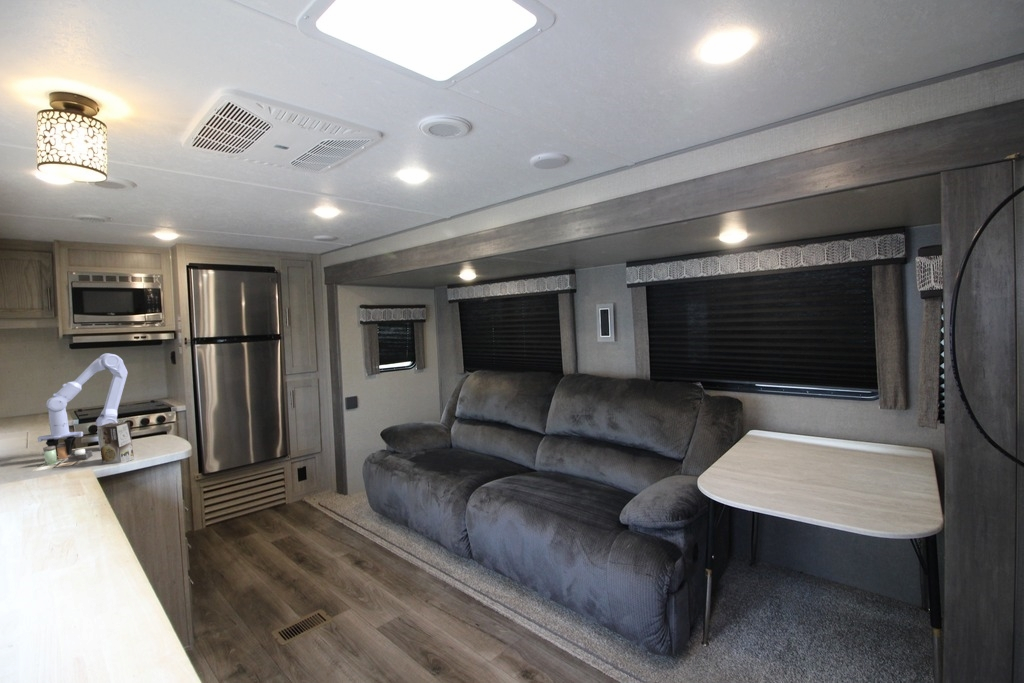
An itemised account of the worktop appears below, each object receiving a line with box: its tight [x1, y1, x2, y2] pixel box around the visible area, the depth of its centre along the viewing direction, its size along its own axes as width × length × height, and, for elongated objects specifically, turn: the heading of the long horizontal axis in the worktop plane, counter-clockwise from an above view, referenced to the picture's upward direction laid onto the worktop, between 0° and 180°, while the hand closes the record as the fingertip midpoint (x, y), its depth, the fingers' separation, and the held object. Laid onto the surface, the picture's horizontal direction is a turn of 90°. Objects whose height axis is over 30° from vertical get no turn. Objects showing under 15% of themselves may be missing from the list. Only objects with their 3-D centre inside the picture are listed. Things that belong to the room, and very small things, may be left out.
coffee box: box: [96, 421, 135, 464], centre depth 200 cm, size 9×6×16 cm
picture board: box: [31, 450, 93, 472], centre depth 199 cm, size 16×13×3 cm
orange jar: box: [56, 442, 70, 460], centre depth 207 cm, size 4×4×7 cm
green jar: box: [42, 445, 58, 465], centre depth 199 cm, size 4×4×7 cm
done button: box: [73, 448, 86, 455], centre depth 204 cm, size 3×3×3 cm
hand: (63, 455), depth 207 cm, fingers closed on orange jar, 4 cm apart
